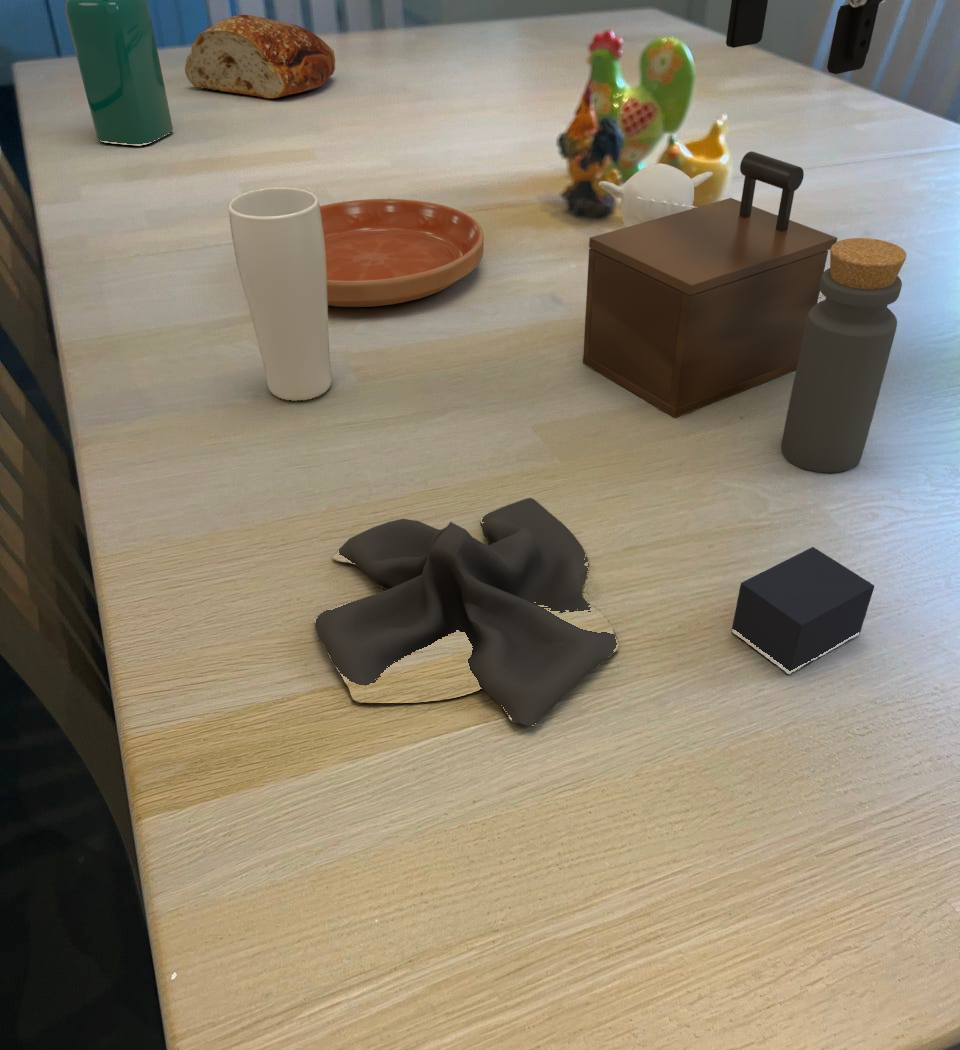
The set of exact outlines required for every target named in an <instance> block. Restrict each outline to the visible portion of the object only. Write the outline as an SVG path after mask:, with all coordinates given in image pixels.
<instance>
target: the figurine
mask: <svg viewBox="0 0 960 1050" xmlns="http://www.w3.org/2000/svg"><path fill="white" fill-rule="evenodd" d="M711 177H713V171H711V170H710V171H706V172H702V173H699V174H697V175H695V176H693V177H692V178H691V177H690V176H689V175H688V174H686V173H685V172H684V171H682V170H680V169H679V168H677V167H675V166H672V165H669V164H668V163H667V164H666V163H652V164H649V165H646V166H645V167H642V168H641V169H639V170H638V171H636V172H635V173H634V174H633V175H632V176H631V177H629V179H627V180H626V182H624V183H623V184H622V185H621V186H619V185H617V184H615V183H613V182H610V181H604V180H603V181H599V182H598V186H599V188H601V189H603V190H604V191H605V192H607V193H608V194H610V195H611V196H612V197H614V198H615V199H616V198H617V199H621V205H620V209H621V215H622V220H623V228H626V227H629V226H633V225H636V224H640V223H644V222H647V221H651V220H654V219H658V218H661V217H665V216H668V215H672V214H675V213H679V212H683V211H686V210H690V209H693V208H696V206H695V205H694V201H695V188H697V187H698V186H700V185H702V183H704V182H705V181H707V180H708V179H710V178H711Z"/></svg>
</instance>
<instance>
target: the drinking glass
mask: <svg viewBox="0 0 960 1050" xmlns="http://www.w3.org/2000/svg"><path fill="white" fill-rule="evenodd" d="M320 206H321V205H320V200H319V198H318V196H317V195H316V194H315V193H313V192H311V191H309V190H306V189H302V188H296V187H285V186H283V187H282V186H280V187H279V186H278V187H277V186H276V187H266V188H259V189H255V190H250V191H247V192H244V193H241V194H239V195H237V196H236V197H233V198H232V199H231V200H230V201H229V203H228V205H227V209H228V217H229V225H230V234H231V240H232V246H233V252H234V256H235V261H236V265H237V270H238V274H239V277H240V282H241V285H242V289H243V293H244V296H245V301H246V303H247V307H248V311H249V315H250V319H251V323H252V327H253V330H254V334H255V338H256V341H257V342H256V343H257V345H258V349H259V353H260V357H261V361H262V365H263V370H264V376H265V383H266V386H267V388H268V390H269V392H270V393H271V394H272V395H274V397H276V398H278V399H280V398H281V400H284V399H285V400H284V401H289V400H291V402H298V401H297V400H303V401H308V399H309V400H312V398H313V399H316V398H318V397H320V396H322V395H324V394H325V393H326V392H327V391H329V389H330V388H331V385H332V382H333V376H332V375H333V374H332V367H331V357H330V356H331V355H330V354H331V353H330V331H329V328H330V327H329V305H328V298H327V267H326V250H325V239H324V231H323V224H322V218H321V212H320ZM315 397H316V398H315Z"/></svg>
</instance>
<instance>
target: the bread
mask: <svg viewBox="0 0 960 1050" xmlns="http://www.w3.org/2000/svg"><path fill="white" fill-rule="evenodd" d="M190 50H191V52H190V53H189V54H188V55H187V57H186V60H185V66H184V73H185V76H186V78H187V80H188V81H189V83H190V84H191V85H193V86H194V87H195V86H196V87H195V88H198V87H203V88H209V89H214V90H213V91H215V90H220V91H219V92H227V93H233V94H239V95H248V96H253V97H258V98H264V99H278V98H282V97H286V96H290V95H295V94H300V93H304V92H308V91H311V90H315V89H317V88H320V87H322V86H324V85H325V84H326V83H327V82H328V81H329V79H330V77H331V76H332V75H333V74H334V72H335V70H336V55H335V50H333V48H332V47H330V46H329V44H327V42H326V41H324V40H323V39H322V38H320V36H318V35H317V34H315V33H313V32H312V31H310V30H308V29H306V28H305V27H302V26H300V25H297V24H293V23H290V22H289V23H288V22H284V21H278V20H275V19H271V18H267V17H263V16H258V15H257V16H256V15H252V14H236V15H233V16H231V17H230V16H229V17H227V18H223V19H221V20H220V21H218V22H216V23H215V24H214V25H212V26H211V27H209V28H207V29H205V30H202V32H200V33H199V34H198V35H197V36H196V38H195V39H194V41H193V43H192V45H191V49H190ZM203 88H202V89H203Z"/></svg>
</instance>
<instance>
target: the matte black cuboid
mask: <svg viewBox="0 0 960 1050" xmlns="http://www.w3.org/2000/svg"><path fill="white" fill-rule="evenodd" d="M874 589H875V585H874V584H873V583H871V582H870V581H868V580H866V579H865V578H864V577H862V576H861V575H858V574H857V573H855V572H853V570H850V569H849V568H848V567H846V566H845V565H843V564H841V563H840V562H838V561H837V560H835V559H833V558H832V557H830V556H828V554H825V553H824V552H822V551H820V550H819V549H817V548H816V547H815V546H811V547H810V548H807V549H805V550H804V551H802V552H800V553H797V554H796V555H794V556H792V557H790V558H788V559H785V560H784V561H782V562H780V563H777V564H776V565H774V566H772V567H769V568H767V569H765V570H764V571H762V572H760V573H758V574H756V575H754V576H751V577H750V578H748V579H746V580H744V581H742V582H741V583H740V586H739V589H738V595H737V600H736V605H735V611H734V615H733V622H732V626H731V630H732V629H734V630H736V631H737V632H739V633H740V634H742V636H743V637H745V638H746V639H748V640H750V642H751V643H753V644H754V645H756V647H759V649H761V650H762V651H763V652H765V653H767V654H768V655H770V657H773V659H774V660H776V661H777V662H779V663H780V664H782V665H783V667H785V668H786V669H788V670H789V671H791V670H793V669H795V668H797V667H798V666H800V665H802V664H804V663H807V662H808V661H811V659H813V658H816V657H818V656H819V655H820V654H823V653H824V652H826V651H828V650H829V649H831V648H833V647H835V646H836V645H837V644H839V643H841V642H843V641H844V640H846V639H848V638H849V637H851V636H853V635H855V634H856V633H858V632H860V633H861V631H862V628H863V625H864V622H865V618H866V615H867V612H868V608H869V605H870V602H871V599H872V596H873V592H874Z"/></svg>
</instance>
